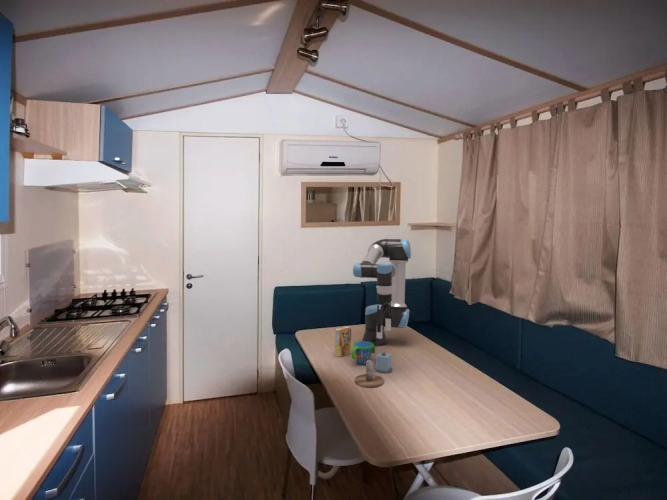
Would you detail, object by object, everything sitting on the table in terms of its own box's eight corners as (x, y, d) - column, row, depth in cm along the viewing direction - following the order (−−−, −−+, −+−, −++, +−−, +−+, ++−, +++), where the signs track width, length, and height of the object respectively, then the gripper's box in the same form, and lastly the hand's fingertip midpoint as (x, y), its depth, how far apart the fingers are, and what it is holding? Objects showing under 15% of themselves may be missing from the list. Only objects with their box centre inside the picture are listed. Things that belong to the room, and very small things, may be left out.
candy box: (346, 351, 231) (346, 326, 230) (351, 353, 228) (351, 327, 227) (334, 355, 226) (334, 328, 224) (339, 357, 222) (339, 330, 221)
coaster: (371, 369, 206) (371, 367, 205) (384, 365, 211) (384, 364, 210) (382, 374, 198) (382, 373, 198) (396, 370, 203) (396, 369, 203)
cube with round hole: (379, 365, 208) (379, 350, 208) (391, 367, 206) (391, 352, 205) (375, 369, 203) (375, 354, 202) (387, 371, 200) (387, 356, 199)
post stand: (348, 379, 192) (349, 360, 191) (371, 373, 200) (371, 354, 199) (367, 390, 180) (367, 369, 180) (390, 383, 188) (390, 362, 187)
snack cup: (368, 356, 223) (368, 339, 223) (380, 362, 215) (381, 344, 214) (345, 362, 215) (346, 344, 214) (357, 368, 206) (357, 349, 205)
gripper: (385, 288, 214) (384, 327, 216) (368, 297, 191) (368, 340, 193) (398, 289, 210) (398, 328, 212) (383, 298, 188) (382, 342, 190)
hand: (383, 334), depth 203 cm, fingers open, 13 cm apart
